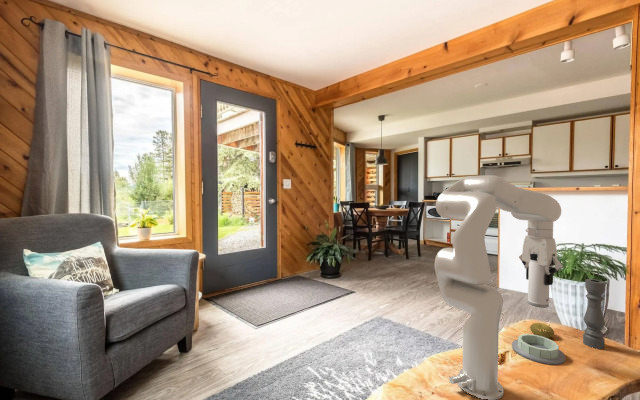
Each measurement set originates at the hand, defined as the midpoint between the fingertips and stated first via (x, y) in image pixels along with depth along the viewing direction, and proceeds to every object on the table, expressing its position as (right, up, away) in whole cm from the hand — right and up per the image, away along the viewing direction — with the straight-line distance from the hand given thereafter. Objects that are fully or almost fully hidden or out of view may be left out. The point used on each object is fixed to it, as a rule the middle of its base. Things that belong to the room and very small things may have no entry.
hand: (539, 281), depth 112 cm
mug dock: (0, -26, +1) cm, 27 cm away
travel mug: (0, -9, 0) cm, 9 cm away
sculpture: (+12, -26, +15) cm, 32 cm away
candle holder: (+26, -26, +6) cm, 37 cm away
